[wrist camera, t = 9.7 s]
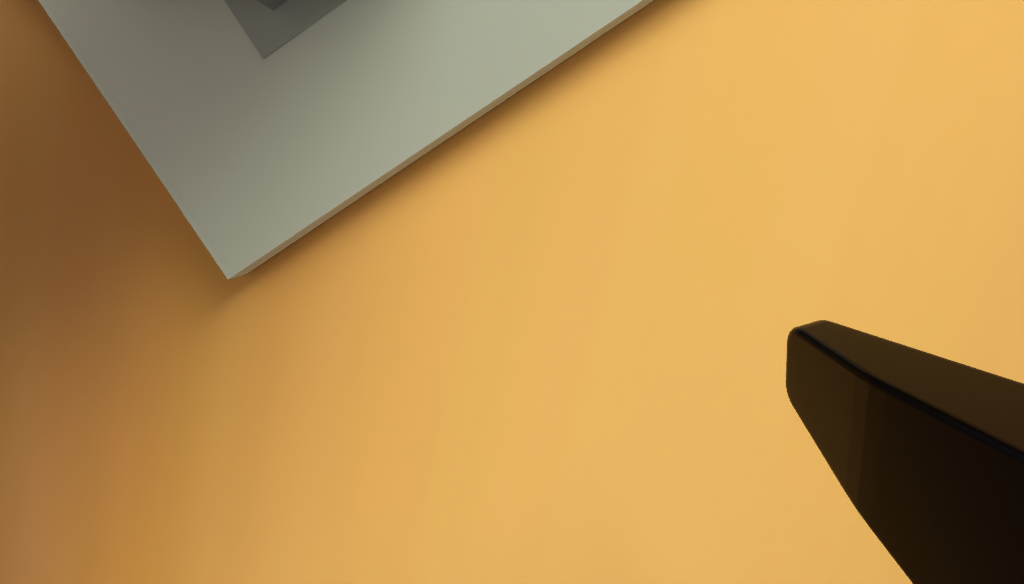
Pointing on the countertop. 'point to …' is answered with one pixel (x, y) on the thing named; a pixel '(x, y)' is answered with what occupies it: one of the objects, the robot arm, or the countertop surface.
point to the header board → (307, 94)
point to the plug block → (272, 3)
